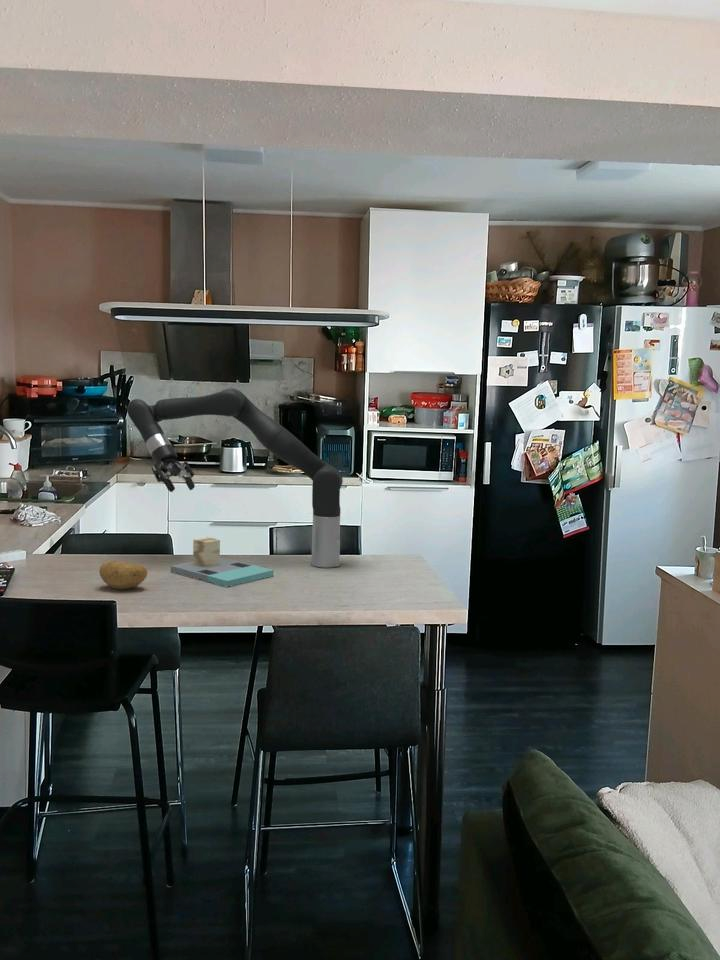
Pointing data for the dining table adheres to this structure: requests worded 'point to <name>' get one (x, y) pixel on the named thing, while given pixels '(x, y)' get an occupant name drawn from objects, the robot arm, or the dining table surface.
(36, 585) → the dining table surface
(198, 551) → the maple block
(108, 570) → the potato
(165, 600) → the dining table surface
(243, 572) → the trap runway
